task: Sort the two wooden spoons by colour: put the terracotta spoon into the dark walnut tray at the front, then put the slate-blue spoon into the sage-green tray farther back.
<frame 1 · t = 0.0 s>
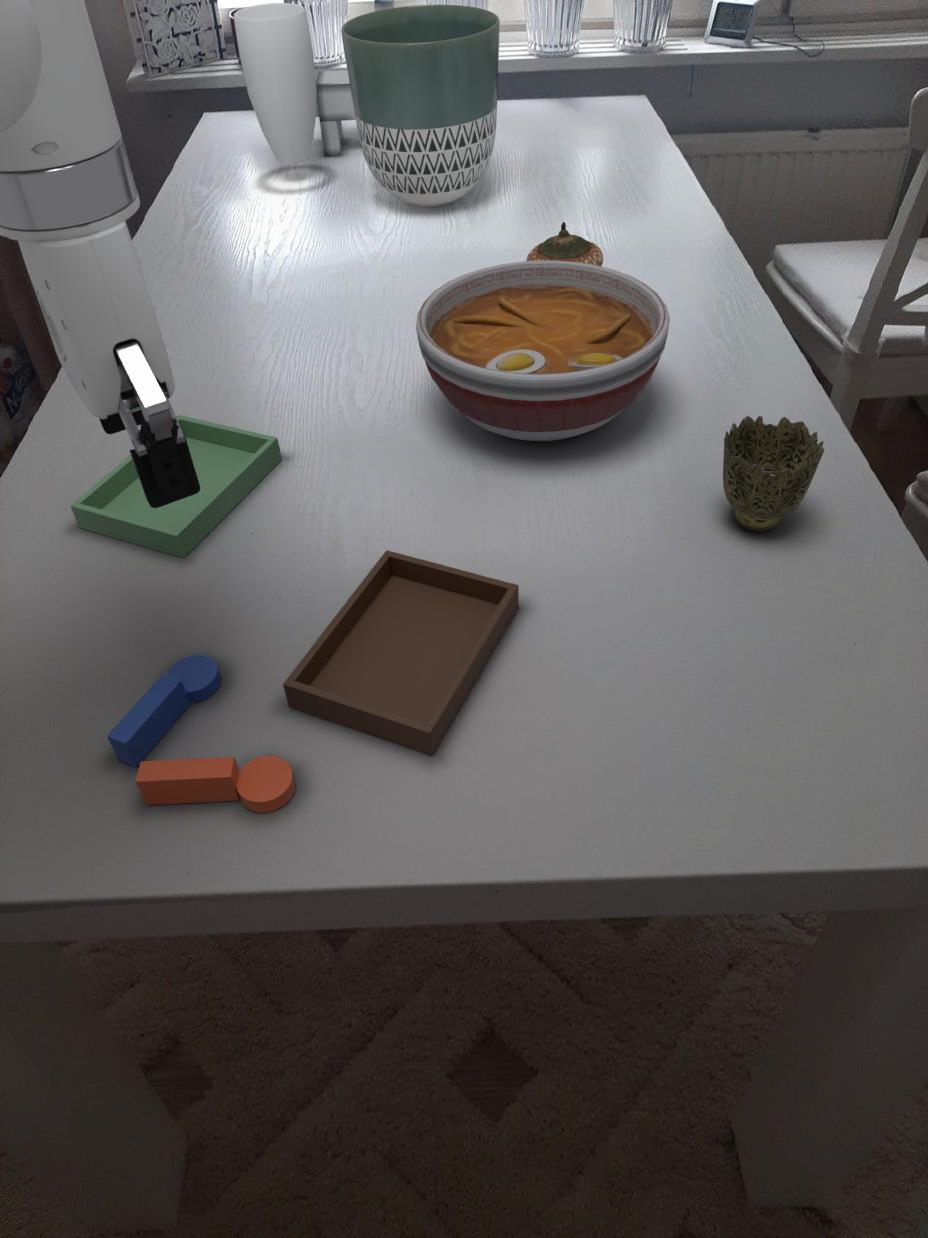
hand: (150, 460, 60), 16 cm above the table, tool pointing down, fingers open, 9 cm apart
cup: (296, 180, 140), on the table
terracotta spoon: (218, 791, 60), on the table
planter: (432, 200, 132), on the table
tray: (408, 655, 68), on the table
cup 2: (756, 523, 78), on the table
green tray: (184, 492, 84), on the table
acorn: (562, 313, 106), on the table
bowl: (540, 410, 92), on the table
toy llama: (365, 147, 149), on the table
blue spoon: (168, 715, 65), on the table
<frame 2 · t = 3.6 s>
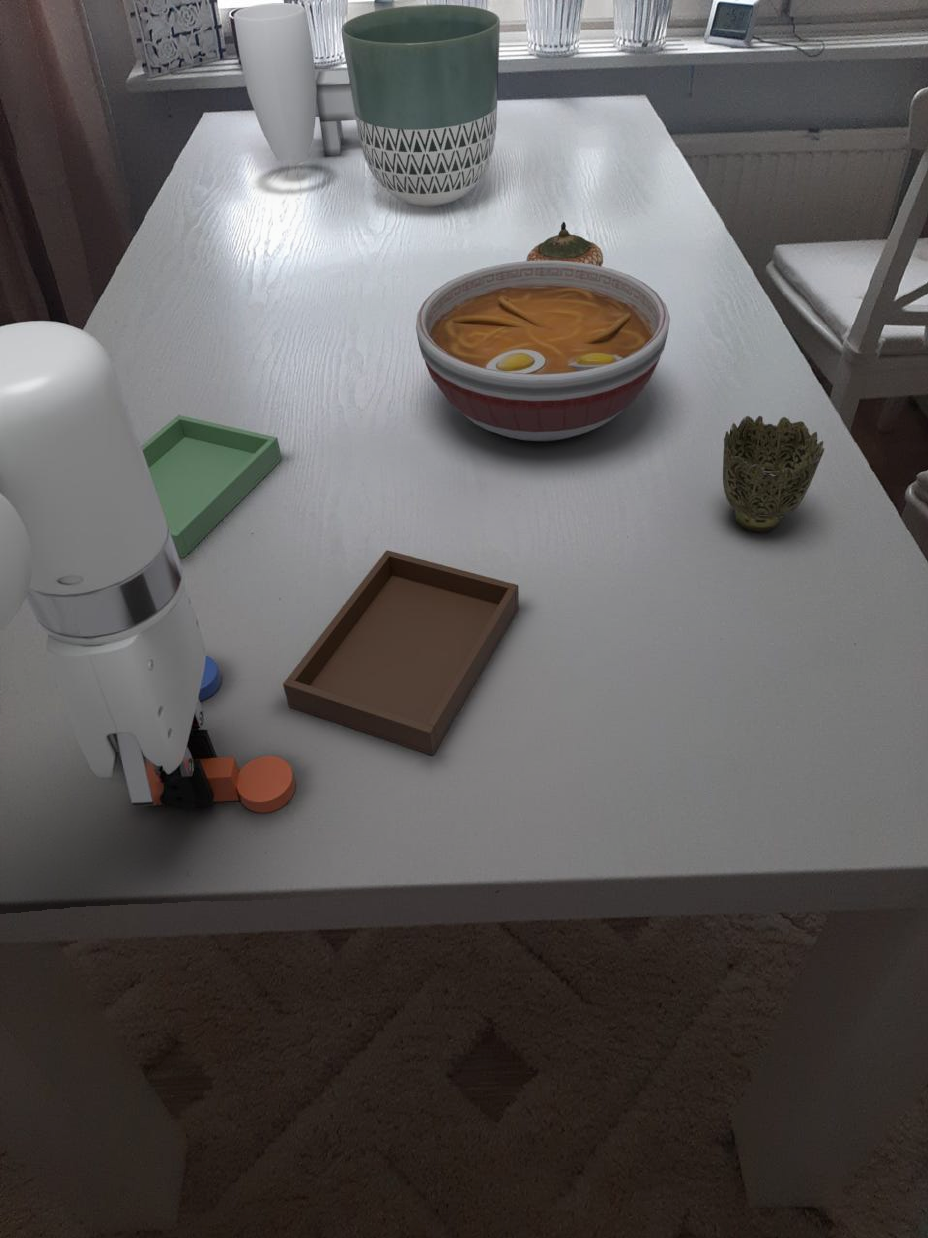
hand: (192, 786, 60), 1 cm above the table, tool pointing down, fingers closed on terracotta spoon
terracotta spoon: (218, 791, 60), on the table, touching gripper
everything else where it was.
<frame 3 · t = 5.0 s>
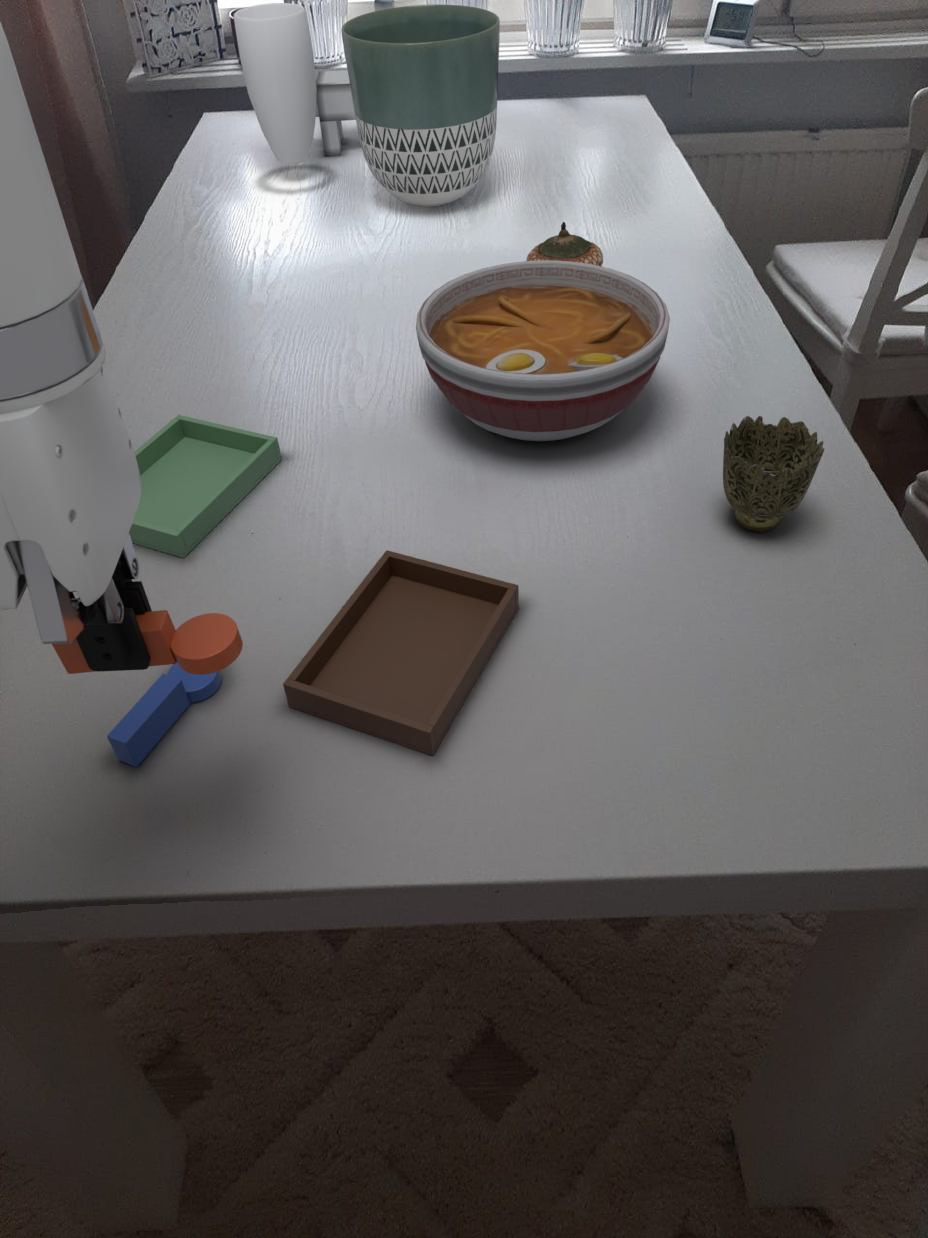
hand: (125, 652, 51), 14 cm above the table, tool pointing down, fingers closed on terracotta spoon
terracotta spoon: (152, 656, 51), point 13 cm above the table, touching gripper
everything else where it was.
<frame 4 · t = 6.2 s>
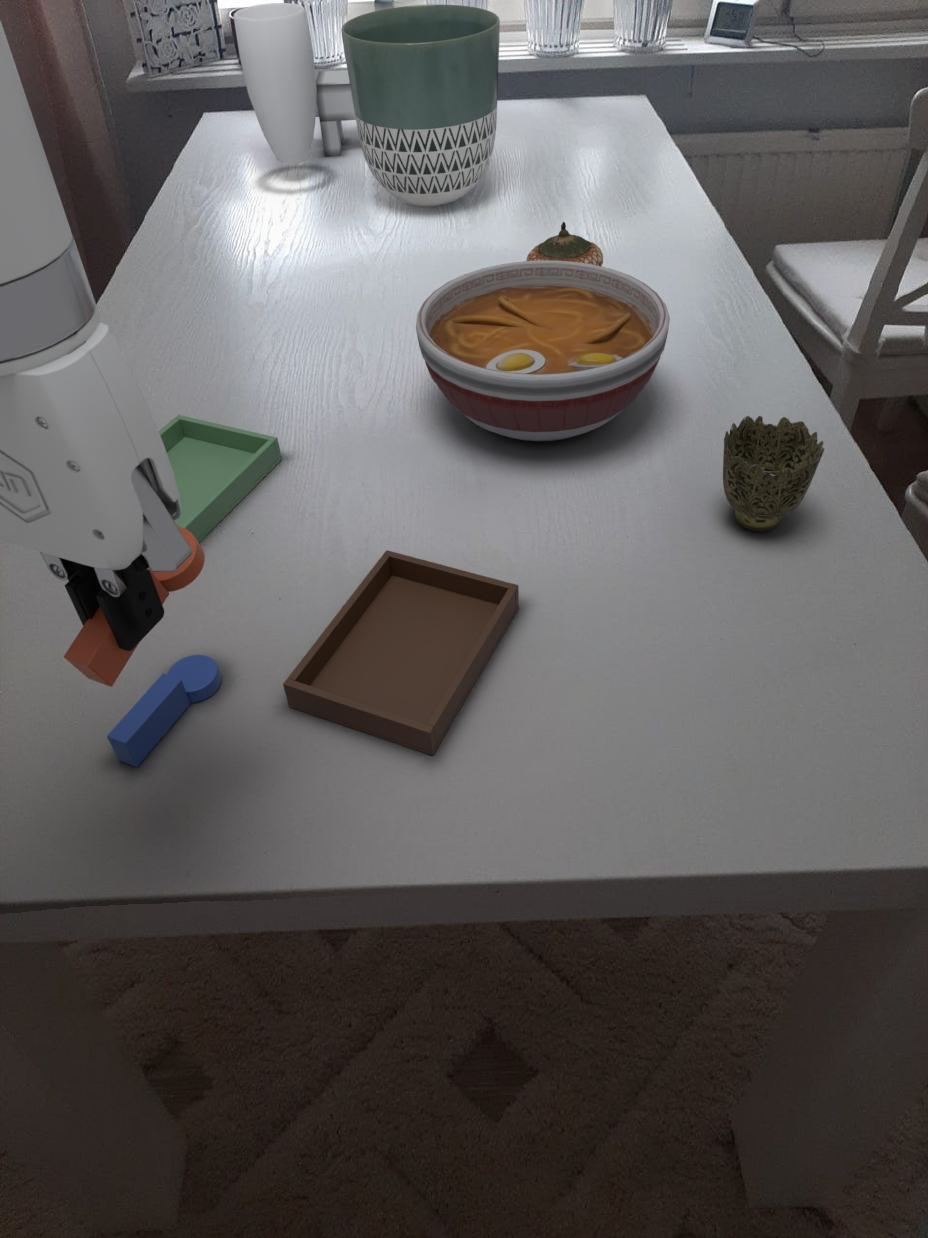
hand: (128, 626, 50), 15 cm above the table, tool pointing down, fingers closed on terracotta spoon
terracotta spoon: (144, 612, 51), point 15 cm above the table, tilted 18°, touching gripper
everything else where it was.
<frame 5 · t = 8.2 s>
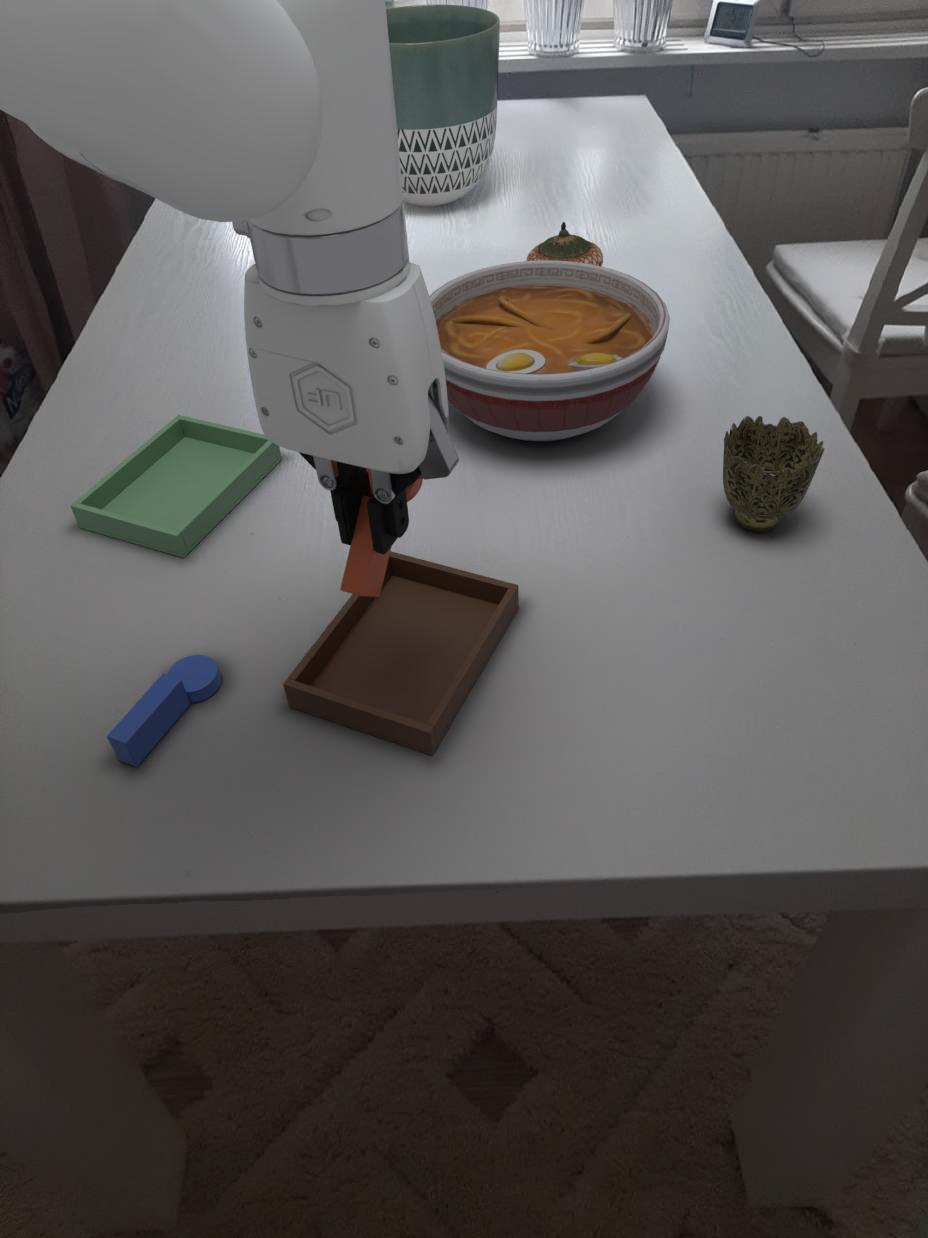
hand: (374, 534, 58), 13 cm above the table, tool pointing down, fingers closed on terracotta spoon
terracotta spoon: (385, 525, 59), point 12 cm above the table, tilted 48°, touching gripper
everything else where it was.
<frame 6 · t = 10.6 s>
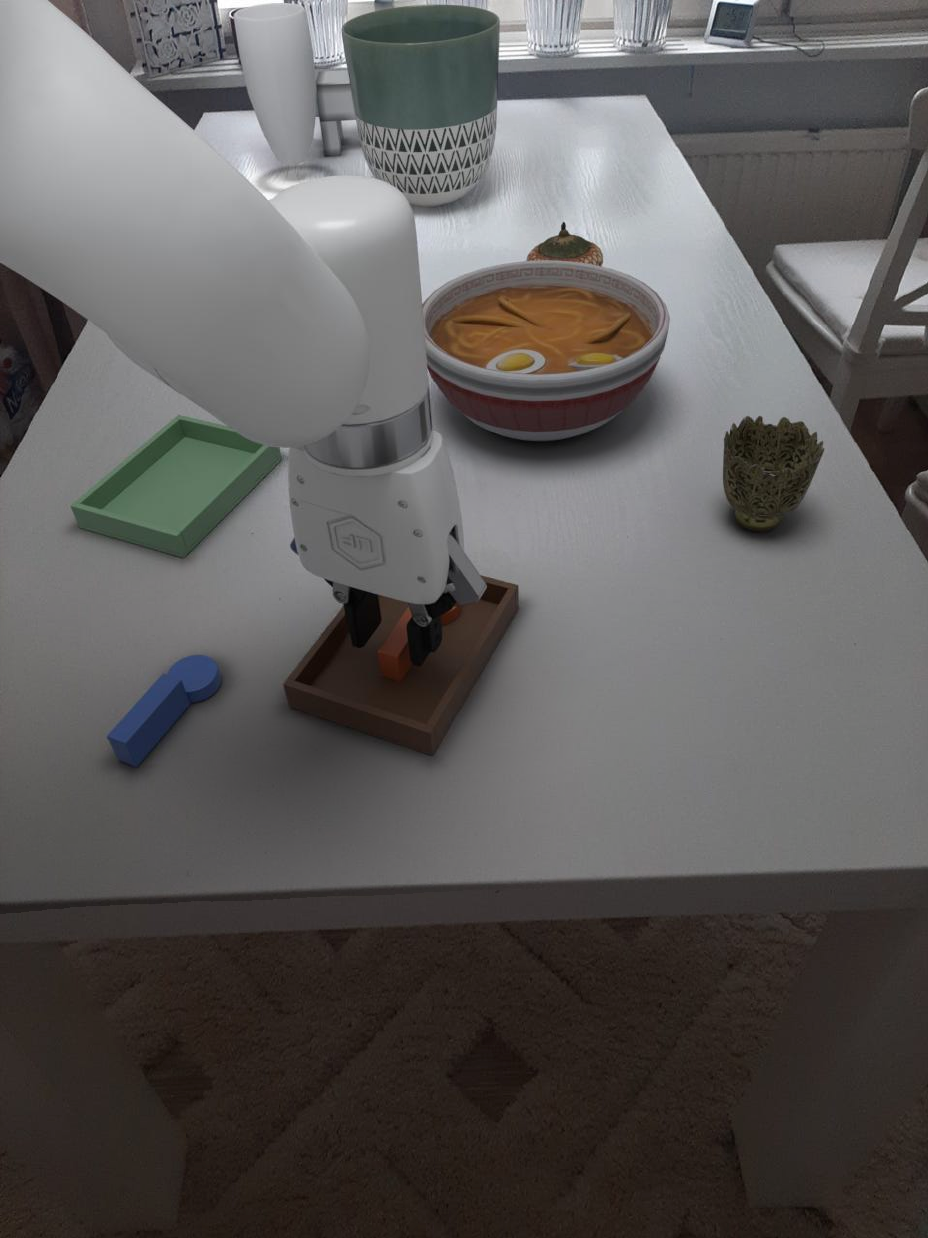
hand: (395, 641, 65), 3 cm above the table, tool pointing down, fingers open, 3 cm apart
terracotta spoon: (419, 637, 69), resting on tray
everything else where it was.
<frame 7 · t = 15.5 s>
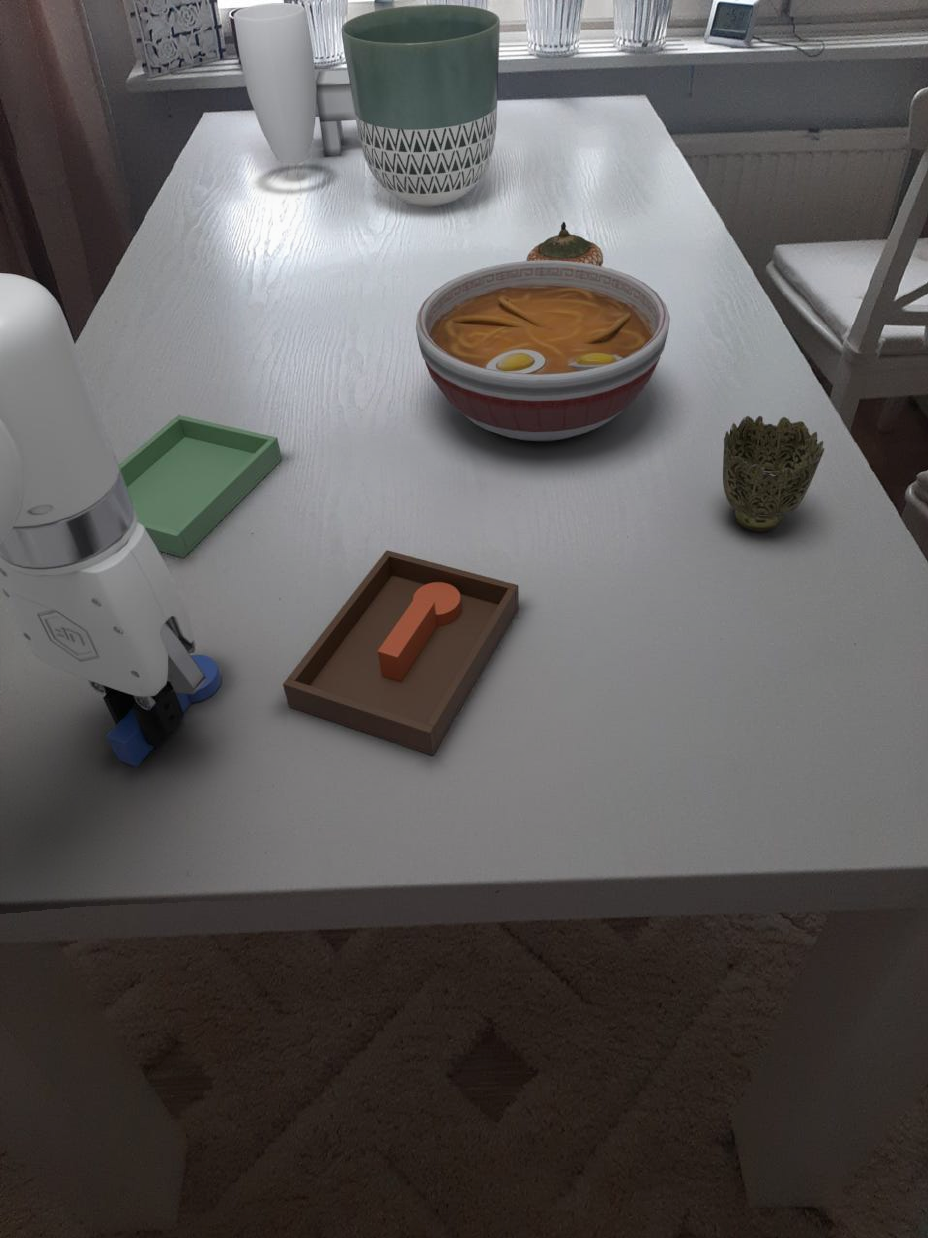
hand: (152, 724, 64), 1 cm above the table, tool pointing down, fingers closed on blue spoon
blue spoon: (168, 715, 65), on the table, touching gripper
everything else where it was.
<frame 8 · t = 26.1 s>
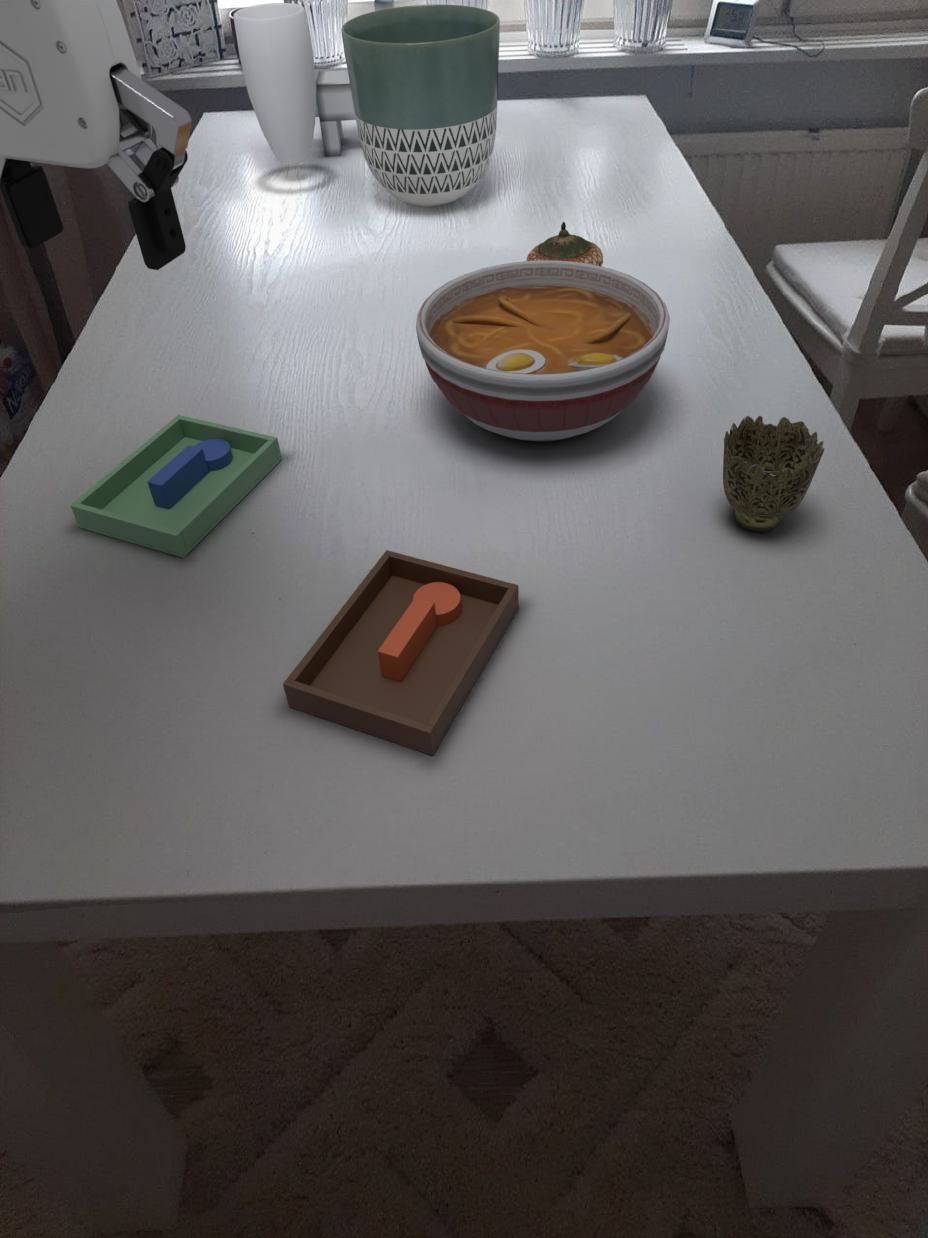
hand: (104, 249, 58), 26 cm above the table, tool pointing down, fingers open, 9 cm apart
blue spoon: (192, 479, 85), resting on green tray
everything else where it was.
at the end: terracotta spoon inside the target area in the tray (1.6 cm from its centre), point 0.4 cm above the tray's base; blue spoon inside the target area in the green tray (1.5 cm from its centre), point 0.4 cm above the green tray's base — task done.
